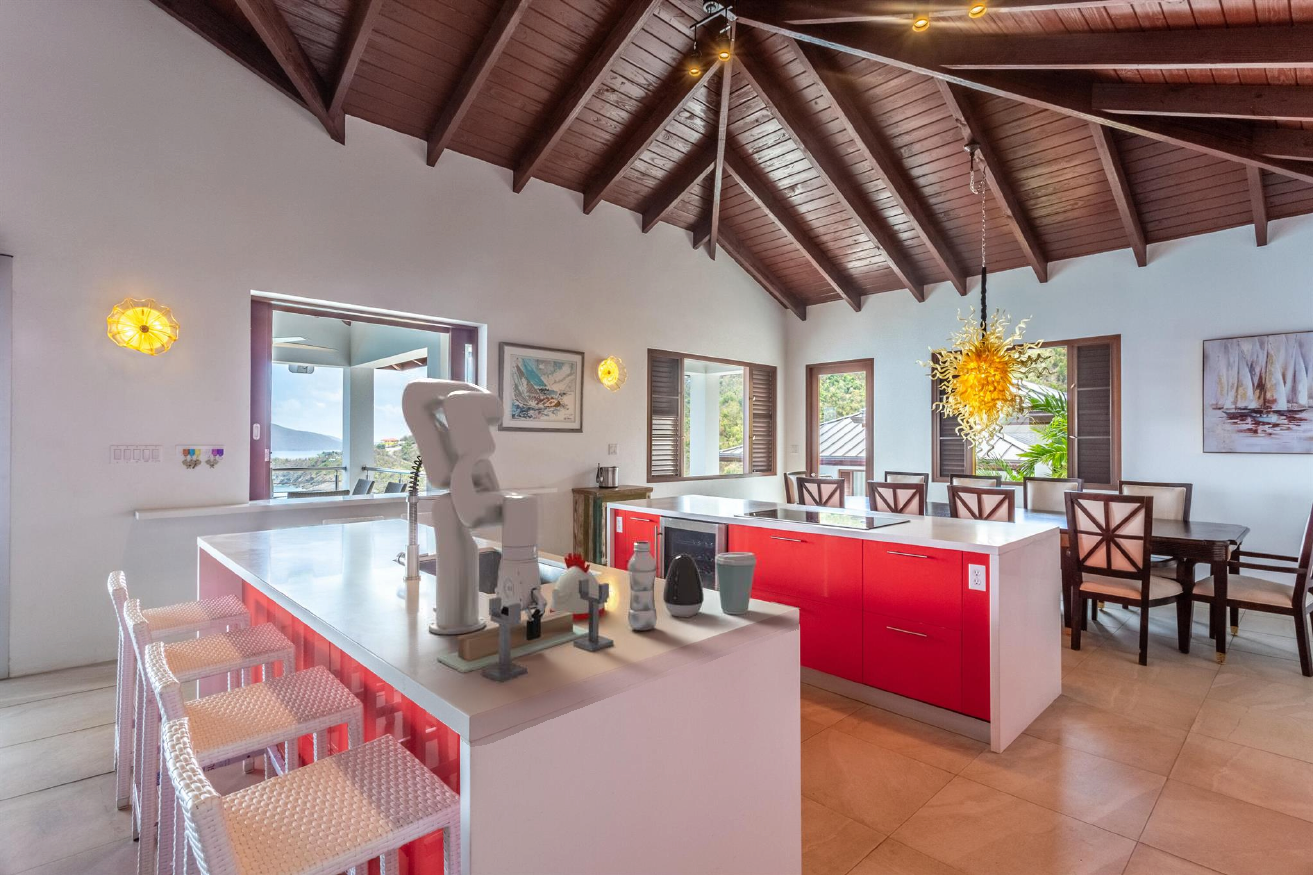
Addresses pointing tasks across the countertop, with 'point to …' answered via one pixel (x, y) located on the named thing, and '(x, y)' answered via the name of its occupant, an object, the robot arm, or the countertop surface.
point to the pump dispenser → (683, 587)
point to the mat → (493, 659)
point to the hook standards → (506, 667)
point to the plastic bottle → (642, 588)
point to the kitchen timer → (574, 589)
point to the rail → (512, 636)
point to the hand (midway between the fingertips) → (519, 633)
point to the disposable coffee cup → (735, 580)
